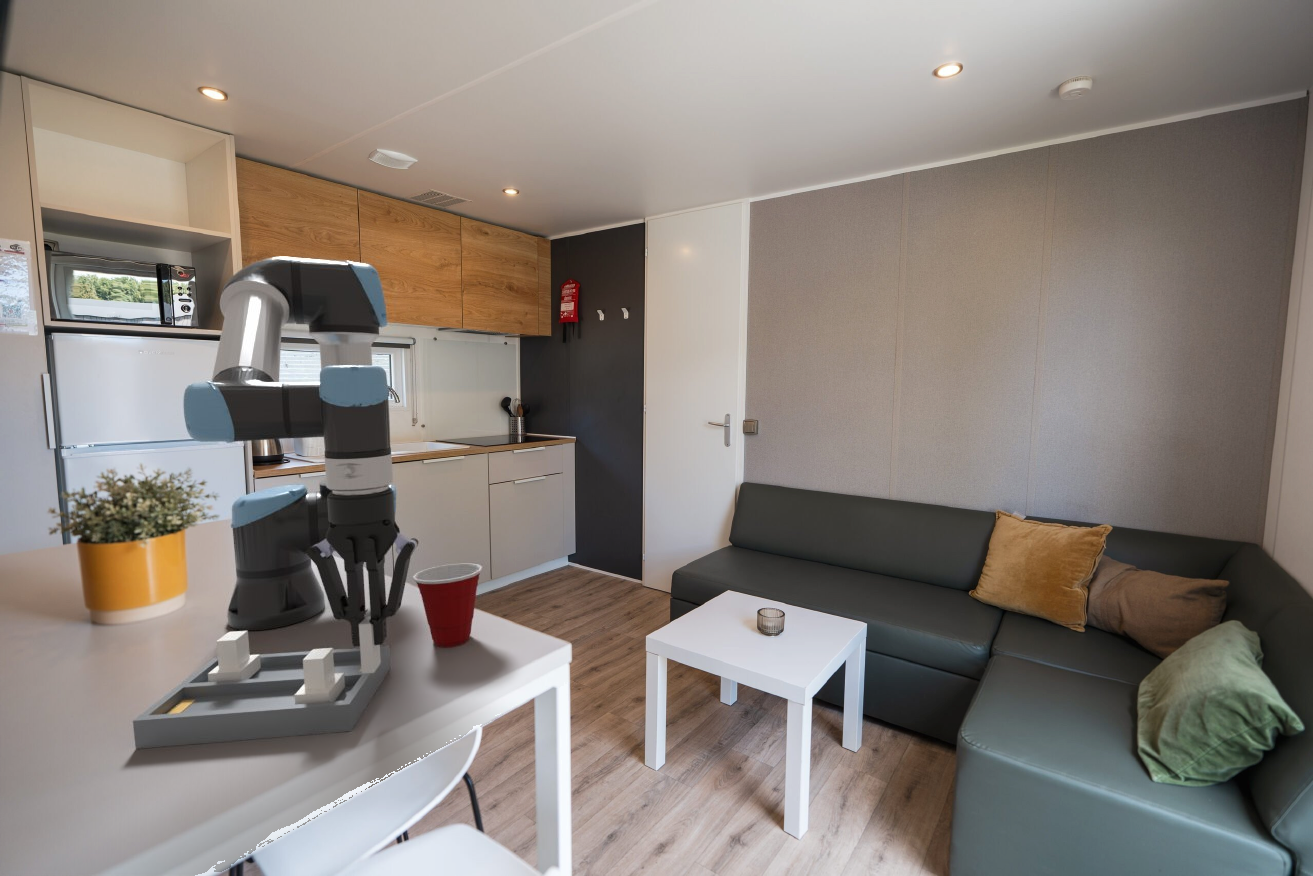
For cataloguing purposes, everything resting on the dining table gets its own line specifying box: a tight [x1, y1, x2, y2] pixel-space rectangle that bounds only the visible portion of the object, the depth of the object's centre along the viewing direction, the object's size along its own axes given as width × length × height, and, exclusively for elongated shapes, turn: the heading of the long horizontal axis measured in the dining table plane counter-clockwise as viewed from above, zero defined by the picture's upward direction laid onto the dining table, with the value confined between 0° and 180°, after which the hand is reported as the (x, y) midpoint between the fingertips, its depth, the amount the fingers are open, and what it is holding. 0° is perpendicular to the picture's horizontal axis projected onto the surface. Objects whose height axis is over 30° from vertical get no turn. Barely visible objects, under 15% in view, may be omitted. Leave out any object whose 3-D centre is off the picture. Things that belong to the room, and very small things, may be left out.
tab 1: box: [208, 630, 261, 682], centre depth 82 cm, size 5×4×6 cm
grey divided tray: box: [132, 645, 391, 750], centre depth 80 cm, size 16×24×4 cm, turn 98°
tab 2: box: [294, 647, 345, 704], centre depth 77 cm, size 5×4×6 cm
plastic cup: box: [412, 562, 483, 648], centre depth 98 cm, size 11×11×12 cm
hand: (371, 668), depth 77 cm, fingers closed
